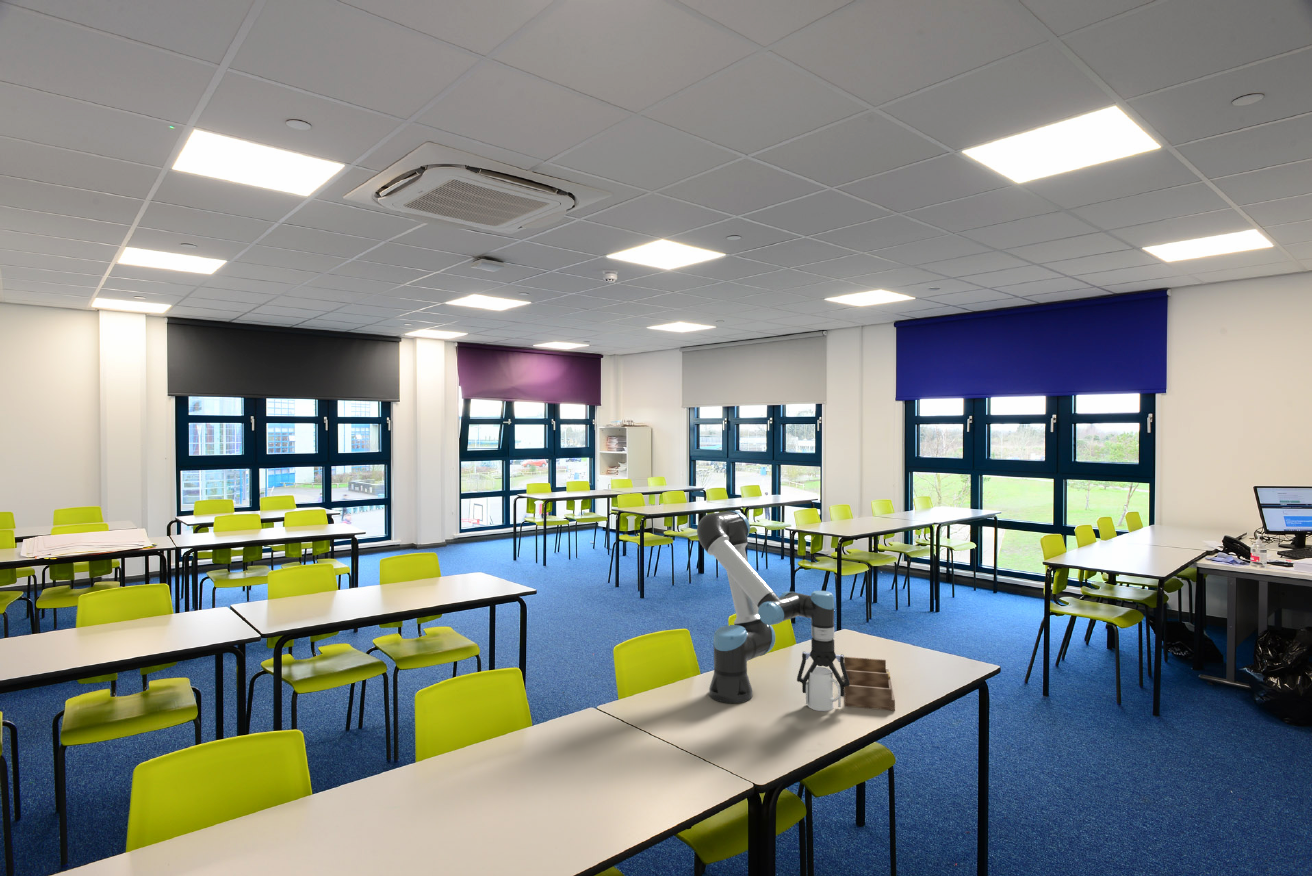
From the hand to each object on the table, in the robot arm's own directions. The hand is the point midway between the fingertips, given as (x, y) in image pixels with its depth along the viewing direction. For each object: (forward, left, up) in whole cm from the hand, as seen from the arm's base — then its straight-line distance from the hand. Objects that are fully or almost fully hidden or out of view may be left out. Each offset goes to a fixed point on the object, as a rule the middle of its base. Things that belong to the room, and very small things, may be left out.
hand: (823, 703), depth 225 cm
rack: (+15, +18, -1) cm, 24 cm away
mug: (0, 0, -1) cm, 1 cm away
